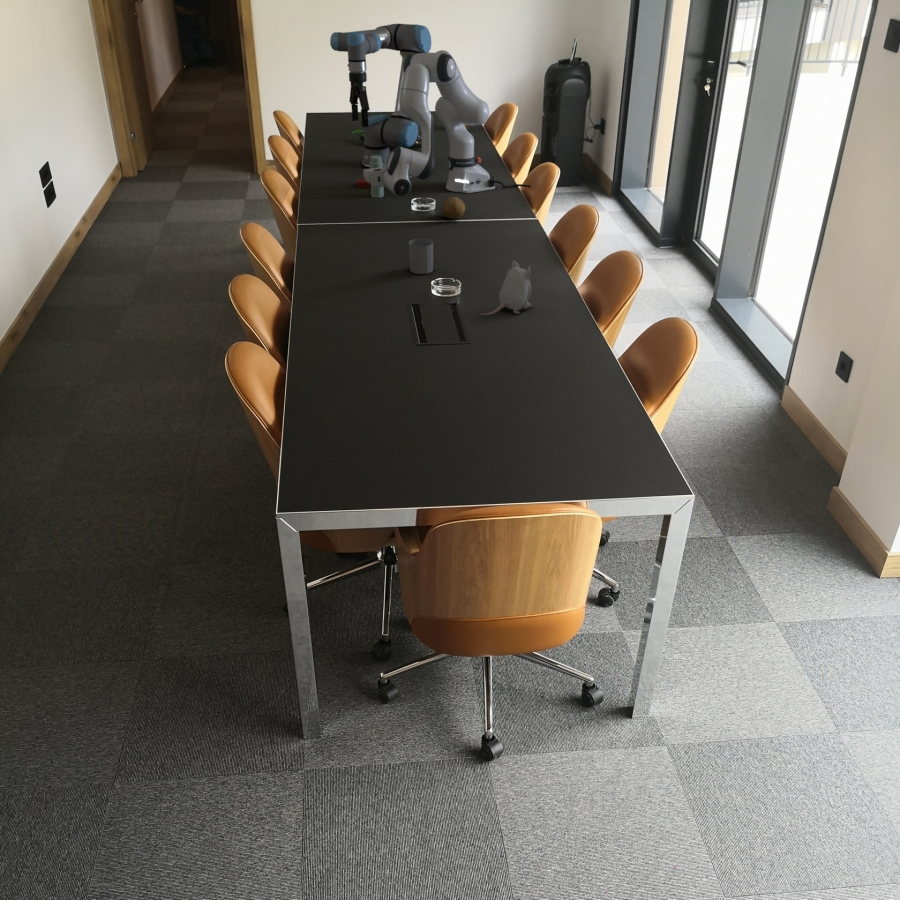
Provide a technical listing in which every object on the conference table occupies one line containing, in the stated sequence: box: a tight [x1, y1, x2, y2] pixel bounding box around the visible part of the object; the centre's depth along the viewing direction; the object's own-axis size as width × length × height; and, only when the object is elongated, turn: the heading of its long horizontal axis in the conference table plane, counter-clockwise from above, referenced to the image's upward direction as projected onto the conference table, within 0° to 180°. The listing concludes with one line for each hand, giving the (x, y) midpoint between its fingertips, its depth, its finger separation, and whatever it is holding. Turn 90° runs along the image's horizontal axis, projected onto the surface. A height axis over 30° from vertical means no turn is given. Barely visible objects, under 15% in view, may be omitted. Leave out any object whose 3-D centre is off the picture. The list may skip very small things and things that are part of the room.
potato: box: [441, 196, 466, 220], centre depth 355 cm, size 10×14×8 cm
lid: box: [355, 178, 371, 189], centre depth 397 cm, size 6×6×2 cm
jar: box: [369, 155, 385, 199], centre depth 380 cm, size 6×6×17 cm
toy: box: [481, 259, 533, 316], centre depth 272 cm, size 9×24×15 cm, turn 137°
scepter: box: [349, 129, 365, 146], centre depth 465 cm, size 6×13×30 cm
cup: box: [408, 237, 434, 275], centre depth 305 cm, size 8×8×10 cm
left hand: (360, 123), depth 383 cm, fingers open, 13 cm apart
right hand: (383, 168), depth 367 cm, fingers open, 8 cm apart
